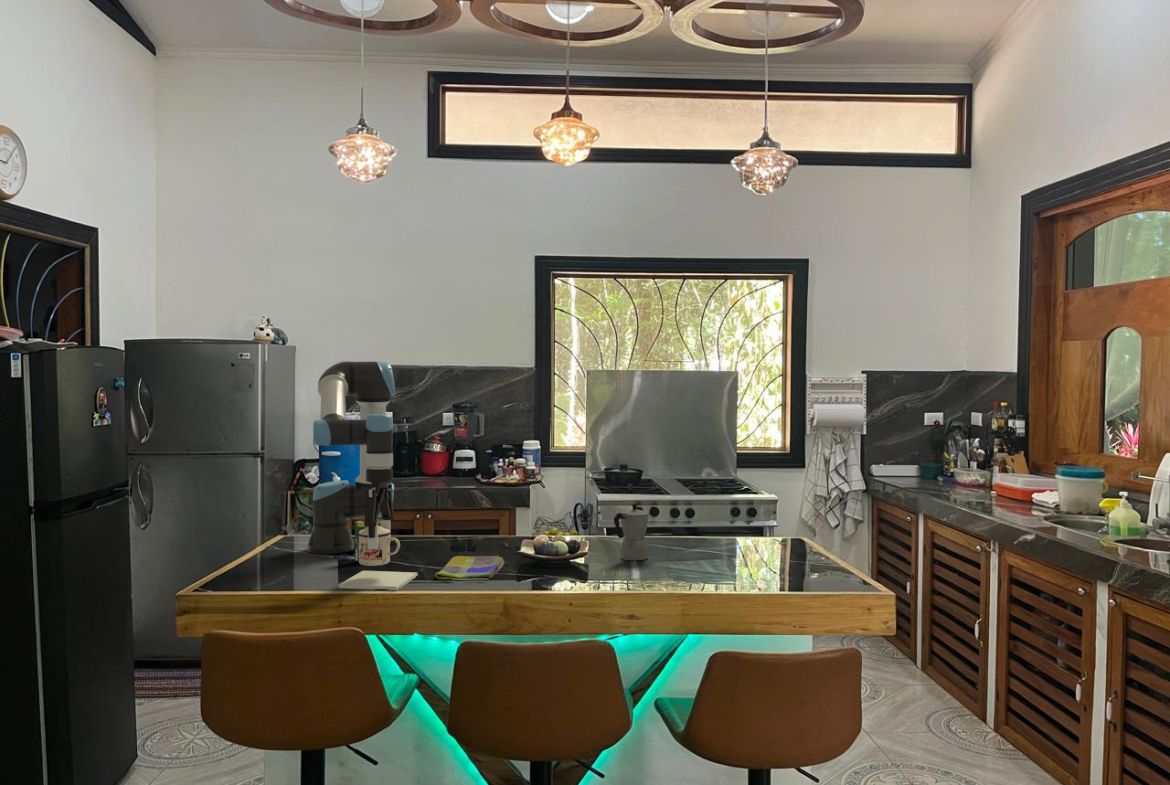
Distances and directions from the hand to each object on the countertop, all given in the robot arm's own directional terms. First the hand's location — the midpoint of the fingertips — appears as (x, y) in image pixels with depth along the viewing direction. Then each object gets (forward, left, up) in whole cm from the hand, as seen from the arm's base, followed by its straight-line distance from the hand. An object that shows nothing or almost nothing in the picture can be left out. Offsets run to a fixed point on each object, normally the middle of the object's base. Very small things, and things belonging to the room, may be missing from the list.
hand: (379, 545), depth 237 cm
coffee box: (-26, -14, -11) cm, 31 cm away
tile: (0, 0, -10) cm, 10 cm away
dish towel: (-18, +22, -11) cm, 31 cm away
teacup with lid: (0, 0, -5) cm, 5 cm away
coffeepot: (-42, +70, -11) cm, 82 cm away
